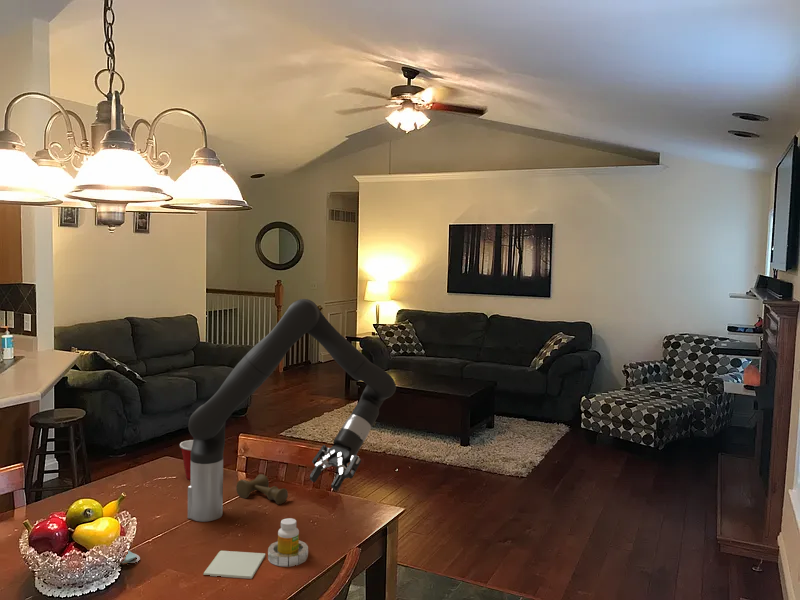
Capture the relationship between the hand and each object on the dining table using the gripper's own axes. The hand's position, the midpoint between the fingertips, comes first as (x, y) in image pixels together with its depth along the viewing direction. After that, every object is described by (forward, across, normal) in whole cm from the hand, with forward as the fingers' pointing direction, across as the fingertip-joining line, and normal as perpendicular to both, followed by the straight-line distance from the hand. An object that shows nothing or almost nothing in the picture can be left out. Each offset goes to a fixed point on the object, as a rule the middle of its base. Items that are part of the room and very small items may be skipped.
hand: (322, 484), depth 178 cm
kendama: (+5, -38, +18) cm, 43 cm away
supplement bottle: (+20, 0, +3) cm, 20 cm away
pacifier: (+41, -28, -18) cm, 52 cm away
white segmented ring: (+20, 0, +3) cm, 20 cm away
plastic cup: (+9, -67, +14) cm, 69 cm away
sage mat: (+28, -6, -5) cm, 29 cm away
